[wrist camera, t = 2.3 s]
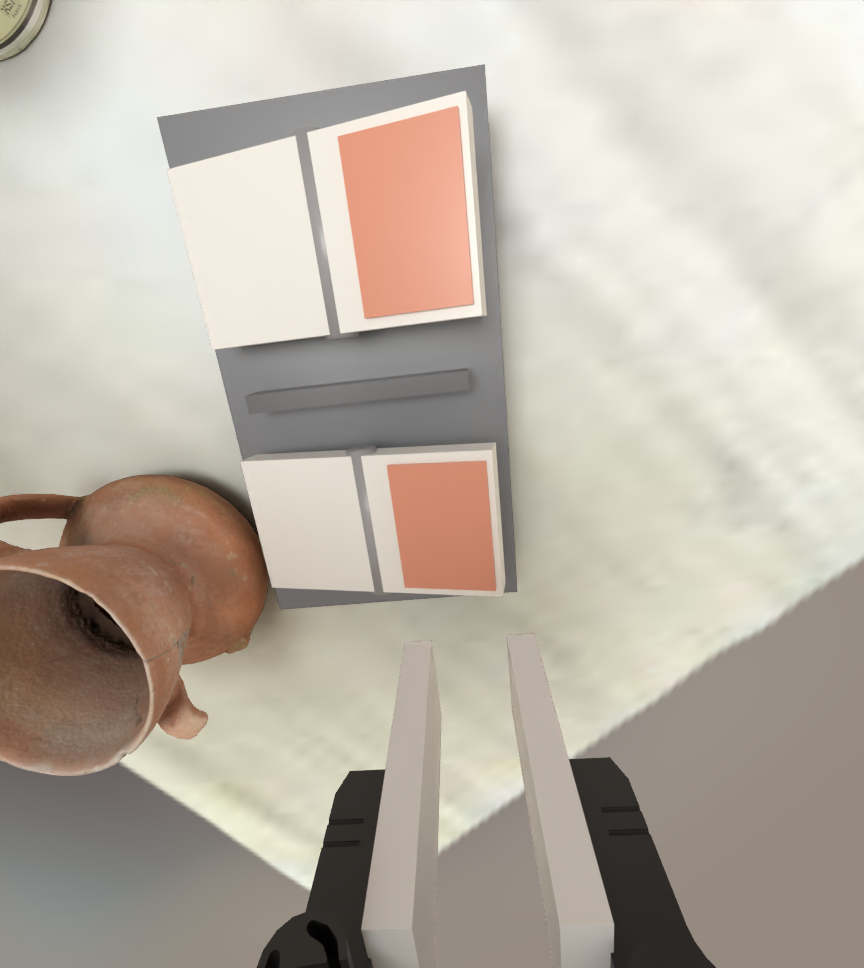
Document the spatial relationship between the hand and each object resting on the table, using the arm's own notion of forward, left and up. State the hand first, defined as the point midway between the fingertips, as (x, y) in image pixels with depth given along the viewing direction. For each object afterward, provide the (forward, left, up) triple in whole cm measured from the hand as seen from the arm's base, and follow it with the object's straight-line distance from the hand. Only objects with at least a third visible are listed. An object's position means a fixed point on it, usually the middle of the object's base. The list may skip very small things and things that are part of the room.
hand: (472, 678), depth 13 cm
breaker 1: (-5, +14, -12) cm, 19 cm away
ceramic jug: (-22, -4, -21) cm, 31 cm away
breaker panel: (-5, +7, -20) cm, 22 cm away
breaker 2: (-5, 0, -12) cm, 13 cm away
